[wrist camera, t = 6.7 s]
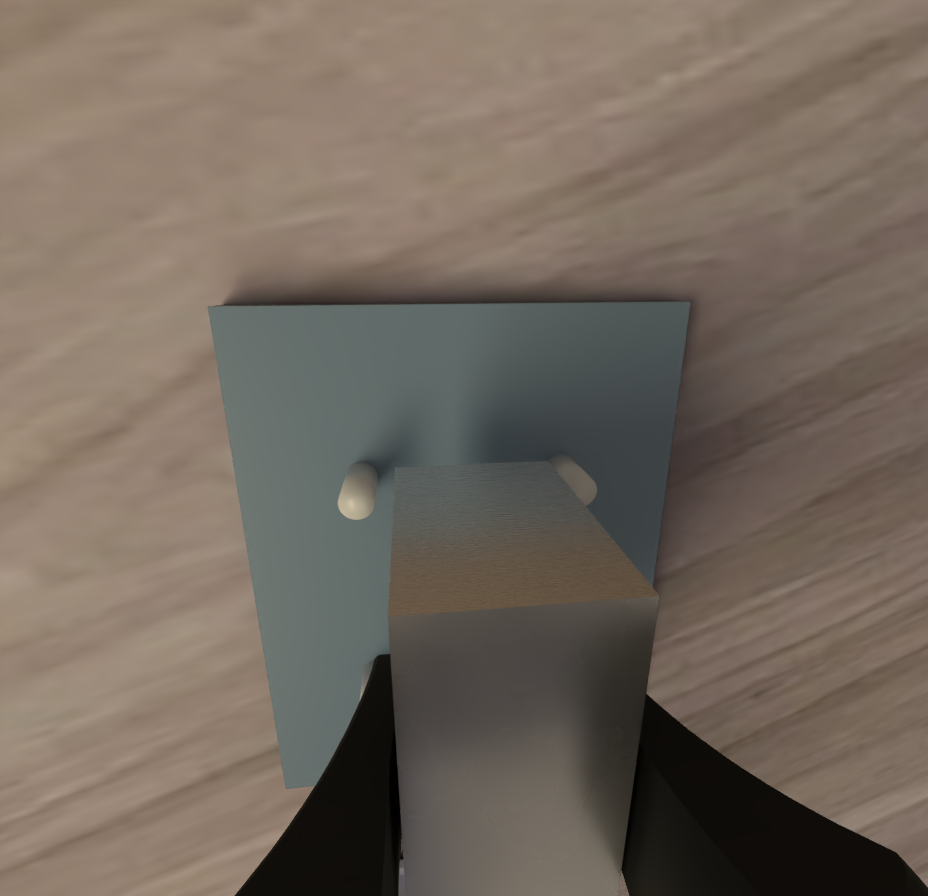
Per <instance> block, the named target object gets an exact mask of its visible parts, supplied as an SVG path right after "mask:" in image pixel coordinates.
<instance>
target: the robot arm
mask: <svg viewBox="0 0 928 896" xmlns="http://www.w3.org/2000/svg"><path fill="white" fill-rule="evenodd" d="M401 840H402V829H401V814H400V798H399V782H398V767H397V751H396V735H395V720H394V704H393V688H392V673H391V657H390V654H381V655H378V656H377V657H376V658H375V659H374V663H373V667H372V670H371V673H370V676H369V679H368V682H367V685H366V687H365V690H364V692H363V695H362V697H361V700H360V702H359V704H358V706H357V708H356V711H355V713H354V715H353V717H352V719H351V722H350V724H349V726H348V728H347V730H346V732H345V734H344V736H343V738H342V739H341V741H340V743H339V745H338V747H337V749H336V751H335V753H334V755H333V756H332V758H331V760H330V762H329V764H328V765H327V767H326V769H325V771H324V772H323V774H322V776H321V777H320V779H319V781H318V782H317V784H316V786H315V787H314V789H313V790H312V792H311V793H310V795H309V797H308V798H307V800H306V801H305V803H304V804H303V806H302V807H301V809H300V810H299V812H298V813H297V814H296V816H295V817H294V819H293V820H292V822H291V823H290V825H289V826H288V828H287V829H286V830H285V832H284V833H283V835H282V836H281V837H280V839H279V840H278V841H277V843H276V844H275V846H274V847H273V848H272V850H271V851H270V852H269V853H268V855H267V856H266V857H265V858H264V860H263V861H262V862H261V863H260V865H259V866H258V867H257V868H256V870H255V871H254V872H253V873H252V875H251V876H250V877H249V879H248V880H247V881H246V882H245V884H244V885H243V886H242V887H241V889H240V890H239V891H238V892H237V893H236V895H235V896H406V892H405V876H404V861H403V860H400V853H401ZM621 870H622V873H623V876H624V879H625V882H626V886H627V889H628V892H629V895H630V896H928V887H927V886H926V885H925V884H924V883H923V882H922V880H921V879H920V878H919V877H918V876H917V875H916V874H915V873H914V871H913V870H912V869H911V868H910V867H909V866H908V865H907V864H906V862H905V861H904V860H903V859H902V858H901V857H900V856H899V855H898V854H897V853H896V852H894V851H892V850H890V849H888V848H886V847H884V846H882V845H880V844H878V843H876V842H873V841H871V840H869V839H867V838H865V837H863V836H861V835H859V834H857V833H855V832H853V831H851V830H849V829H847V828H845V827H843V826H841V825H839V824H837V823H835V822H833V821H831V820H829V819H827V818H825V817H823V816H822V815H820V814H818V813H816V812H814V811H813V810H811V809H809V808H807V807H805V806H804V805H802V804H800V803H798V802H796V801H795V800H793V799H791V798H789V797H788V796H786V795H784V794H783V793H781V792H779V791H778V790H776V789H774V788H773V787H771V786H769V785H768V784H766V783H765V782H763V781H761V780H760V779H758V778H757V777H755V776H754V775H752V774H750V773H749V772H747V771H746V770H744V769H743V768H741V767H740V766H738V765H737V764H735V763H734V762H732V761H731V760H729V759H728V758H726V757H725V756H723V755H722V754H721V753H719V752H718V751H717V750H715V749H714V748H712V747H711V746H710V745H708V744H707V743H706V742H704V741H703V740H701V739H700V738H699V737H697V736H696V735H695V734H694V733H692V732H691V731H690V730H688V729H687V728H686V727H685V726H683V725H682V724H681V723H680V722H678V721H677V720H676V719H675V718H674V717H672V716H671V715H670V714H669V713H668V712H666V711H665V710H664V709H663V708H662V707H661V706H659V705H658V704H657V703H656V702H655V701H654V700H653V699H652V698H650V697H649V696H648V695H647V694H646V697H645V704H644V711H643V718H642V725H641V732H640V740H639V747H638V754H637V761H636V768H635V775H634V782H633V789H632V797H631V804H630V811H629V818H628V825H627V832H626V839H625V847H624V854H623V861H622V868H621Z"/></svg>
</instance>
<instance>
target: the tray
mask: <svg viewBox="0 0 928 896" xmlns="http://www.w3.org/2000/svg"><path fill="white" fill-rule="evenodd" d="M690 304H691V302H684V301H615V302H507V303H400V304H292V305H217V306H208V311H209V317H210V323H211V330H212V336H213V342H214V348H215V354H216V360H217V367H218V373H219V379H220V385H221V391H222V398H223V404H224V410H225V416H226V422H227V429H228V435H229V441H230V447H231V453H232V460H233V466H234V472H235V478H236V484H237V490H238V497H239V503H240V509H241V515H242V521H243V528H244V534H245V540H246V546H247V552H248V559H249V565H250V571H251V577H252V583H253V589H254V596H255V602H256V608H257V614H258V620H259V627H260V633H261V639H262V645H263V651H264V658H265V664H266V670H267V676H268V682H269V689H270V695H271V701H272V707H273V713H274V719H275V726H276V732H277V738H278V744H279V750H280V757H281V763H282V769H283V775H284V781H285V788H286V789H291V788H300V787H309V786H316V784H317V782H318V781H319V779H320V777H321V776H322V774H323V772H324V771H325V769H326V767H327V765H328V764H329V762H330V760H331V758H332V756H333V755H334V753H335V751H336V749H337V747H338V745H339V743H340V741H341V739H342V738H343V736H344V734H345V732H346V730H347V728H348V726H349V724H350V722H351V719H352V717H353V715H354V713H355V711H356V708H357V706H358V704H359V702H360V700H361V697H362V695H363V692H364V690H365V687H366V685H367V682H368V679H369V676H370V673H371V670H372V667H373V663H374V659H375V658H376V657H377V656H378V655H381V654H390V641H389V626H388V606H389V586H390V566H391V545H392V525H393V505H394V485H395V467H417V466H439V465H462V464H484V463H507V462H529V461H549V462H550V463H551V465H552V466H553V467H554V468H555V469H556V471H557V472H558V473H559V474H560V476H561V477H562V478H563V479H564V480H565V482H566V483H567V484H568V485H569V486H570V488H571V489H572V490H573V491H574V493H575V494H576V495H577V496H578V497H579V499H580V500H581V501H582V502H583V504H584V505H585V506H586V507H587V508H588V510H589V511H590V512H591V513H592V514H593V516H594V517H595V518H596V519H597V521H598V522H599V523H600V524H601V525H602V527H603V528H604V529H605V530H606V531H607V533H608V534H609V535H610V536H611V538H612V539H613V540H614V541H615V542H616V544H617V545H618V546H619V547H620V549H621V550H622V551H623V552H624V553H625V555H626V556H627V557H628V558H629V559H630V561H631V562H632V563H633V564H634V566H635V567H636V568H637V569H638V570H639V572H640V573H641V574H642V575H643V577H644V578H645V579H646V580H647V581H648V583H649V584H650V585H651V586H652V587H653V582H654V575H655V567H656V560H657V552H658V545H659V537H660V530H661V522H662V515H663V507H664V500H665V492H666V485H667V477H668V470H669V462H670V454H671V447H672V439H673V432H674V424H675V417H676V409H677V402H678V394H679V387H680V379H681V372H682V364H683V357H684V349H685V342H686V334H687V327H688V319H689V311H690Z"/></svg>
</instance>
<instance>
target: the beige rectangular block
mask: <svg viewBox="0 0 928 896" xmlns="http://www.w3.org/2000/svg"><path fill="white" fill-rule="evenodd" d="M659 597H660V596H659V595H658V594H657V592H656V591H655V590H654V589H653V587H652V586H651V585H650V584H649V583H648V581H647V580H646V579H645V578H644V577H643V575H642V574H641V573H640V572H639V570H638V569H637V568H636V567H635V566H634V564H633V563H632V562H631V561H630V559H629V558H628V557H627V556H626V555H625V553H624V552H623V551H622V550H621V549H620V547H619V546H618V545H617V544H616V542H615V541H614V540H613V539H612V538H611V536H610V535H609V534H608V533H607V531H606V530H605V529H604V528H603V527H602V525H601V524H600V523H599V522H598V521H597V519H596V518H595V517H594V516H593V514H592V513H591V512H590V511H589V510H588V508H587V507H586V506H585V505H584V504H583V502H582V501H581V500H580V499H579V497H578V496H577V495H576V494H575V493H574V491H573V490H572V489H571V488H570V486H569V485H568V484H567V483H566V482H565V480H564V479H563V478H562V477H561V476H560V474H559V473H558V472H557V471H556V469H555V468H554V467H553V466H552V465H551V463H550V462H549V461H529V462H507V463H484V464H462V465H439V466H417V467H395V485H394V505H393V525H392V545H391V566H390V586H389V606H388V626H389V641H390V657H391V673H392V688H393V704H394V720H395V735H396V751H397V767H398V782H399V798H400V814H401V829H402V845H403V861H404V876H405V892H406V896H618V889H619V882H620V875H621V868H622V861H623V854H624V847H625V839H626V832H627V825H628V818H629V811H630V804H631V797H632V789H633V782H634V775H635V768H636V761H637V754H638V747H639V740H640V732H641V725H642V718H643V711H644V704H645V697H646V690H647V682H648V675H649V668H650V661H651V654H652V647H653V640H654V632H655V625H656V618H657V611H658V604H659Z"/></svg>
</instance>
